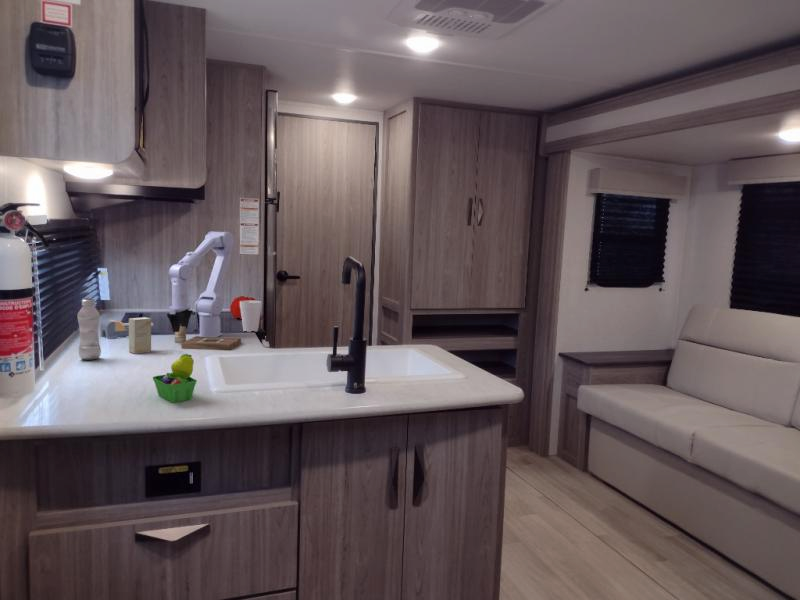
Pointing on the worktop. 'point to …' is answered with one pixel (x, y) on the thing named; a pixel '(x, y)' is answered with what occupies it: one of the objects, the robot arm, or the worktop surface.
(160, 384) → the fruit basket
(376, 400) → the worktop surface
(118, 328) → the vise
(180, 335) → the peg
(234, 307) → the tomato
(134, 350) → the skincare box
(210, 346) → the socket board
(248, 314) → the foam cup
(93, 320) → the plastic bottle
